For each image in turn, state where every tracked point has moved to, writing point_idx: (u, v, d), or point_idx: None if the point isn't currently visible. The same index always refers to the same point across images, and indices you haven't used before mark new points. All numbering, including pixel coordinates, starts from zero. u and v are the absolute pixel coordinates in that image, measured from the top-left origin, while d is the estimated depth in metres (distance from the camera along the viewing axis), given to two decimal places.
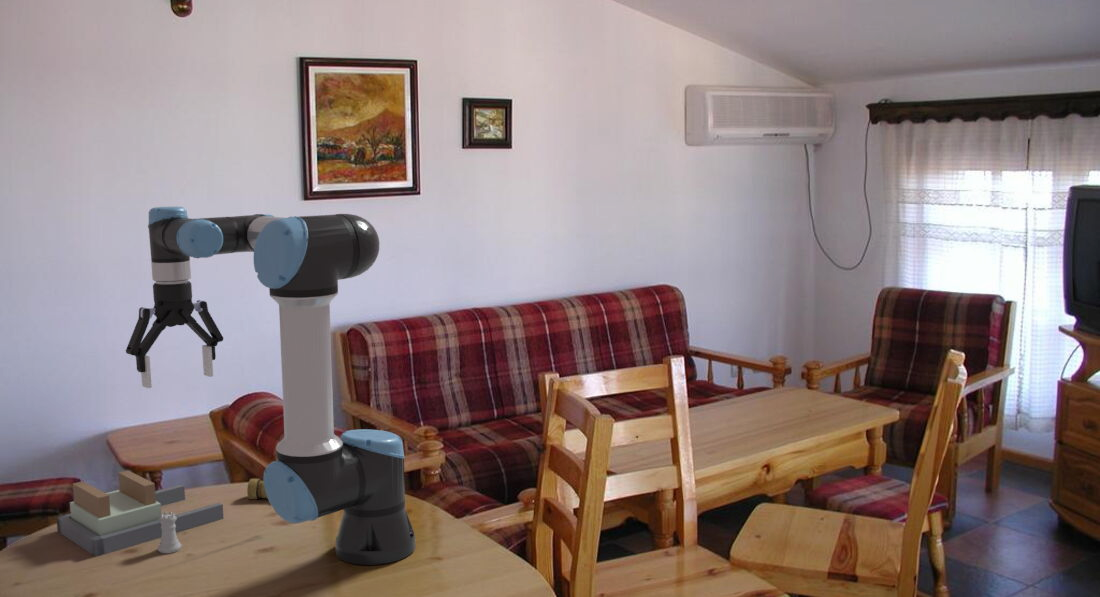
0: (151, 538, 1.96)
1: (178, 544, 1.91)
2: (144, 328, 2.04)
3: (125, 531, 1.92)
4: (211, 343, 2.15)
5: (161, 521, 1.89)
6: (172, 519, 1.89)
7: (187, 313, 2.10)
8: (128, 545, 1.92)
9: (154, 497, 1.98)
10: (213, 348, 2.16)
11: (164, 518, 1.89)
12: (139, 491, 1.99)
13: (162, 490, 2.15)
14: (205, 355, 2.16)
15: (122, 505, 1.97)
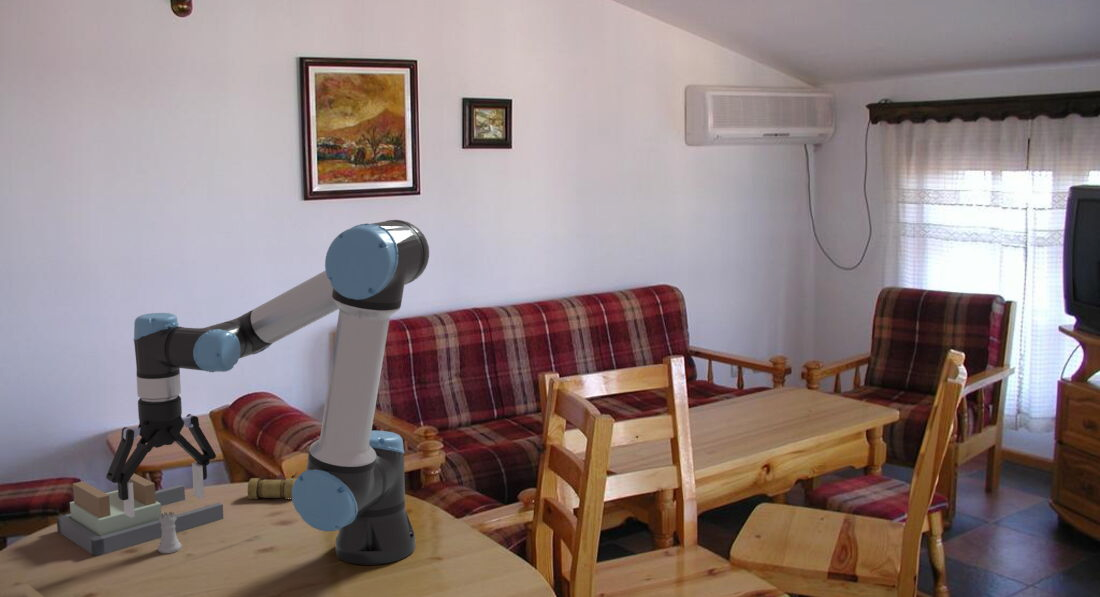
0: (151, 538, 1.96)
1: (178, 544, 1.91)
2: (127, 452, 1.82)
3: (125, 531, 1.92)
4: (202, 462, 1.93)
5: (161, 521, 1.89)
6: (172, 519, 1.89)
7: (176, 432, 1.88)
8: (128, 545, 1.92)
9: (154, 497, 1.98)
10: (204, 467, 1.94)
11: (164, 518, 1.89)
12: (139, 491, 1.99)
13: (162, 490, 2.15)
14: (195, 474, 1.94)
15: (122, 505, 1.97)
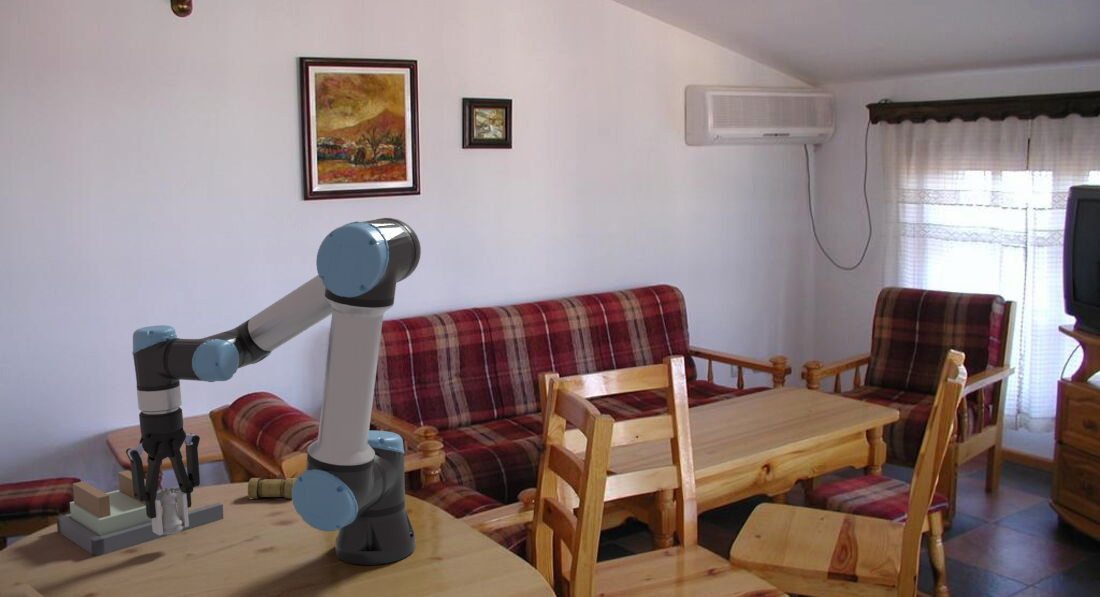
0: (151, 538, 1.96)
1: (179, 520, 1.90)
2: (141, 470, 1.84)
3: (125, 531, 1.92)
4: (186, 488, 1.91)
5: (161, 497, 1.88)
6: (172, 494, 1.88)
7: (177, 445, 1.88)
8: (128, 545, 1.92)
9: None
10: (188, 494, 1.92)
11: (164, 494, 1.88)
12: None
13: None
14: (179, 503, 1.91)
15: (122, 505, 1.97)
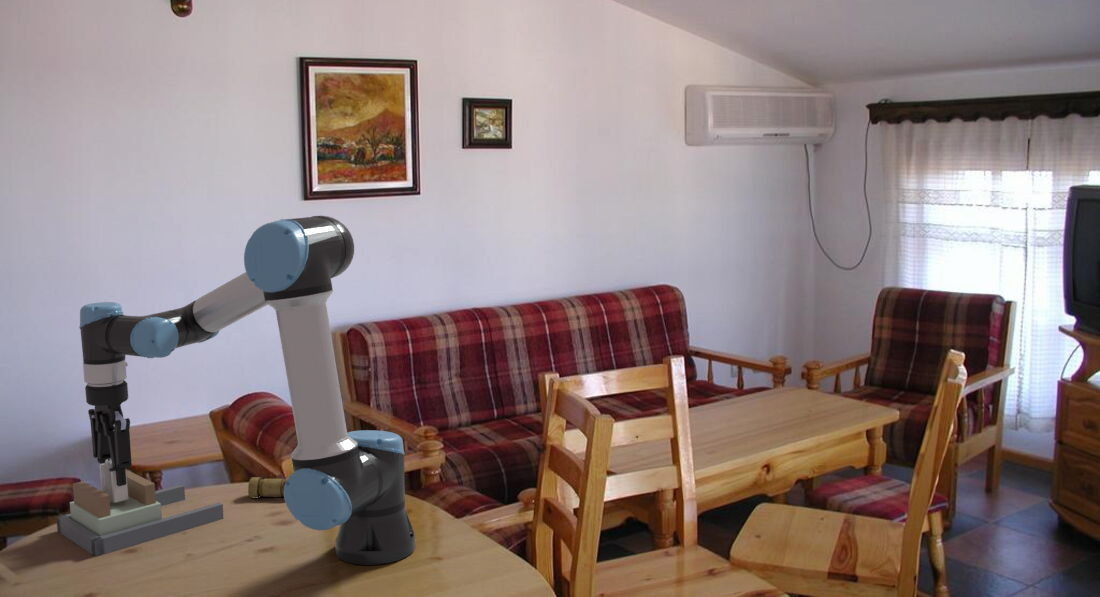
0: (151, 538, 1.96)
1: (109, 491, 1.97)
2: (92, 429, 1.99)
3: (125, 531, 1.92)
4: (113, 466, 1.94)
5: None
6: (105, 464, 1.96)
7: (102, 421, 1.93)
8: (128, 545, 1.92)
9: (154, 497, 1.98)
10: (117, 473, 1.95)
11: None
12: (139, 491, 1.99)
13: (162, 490, 2.15)
14: None
15: (122, 505, 1.97)
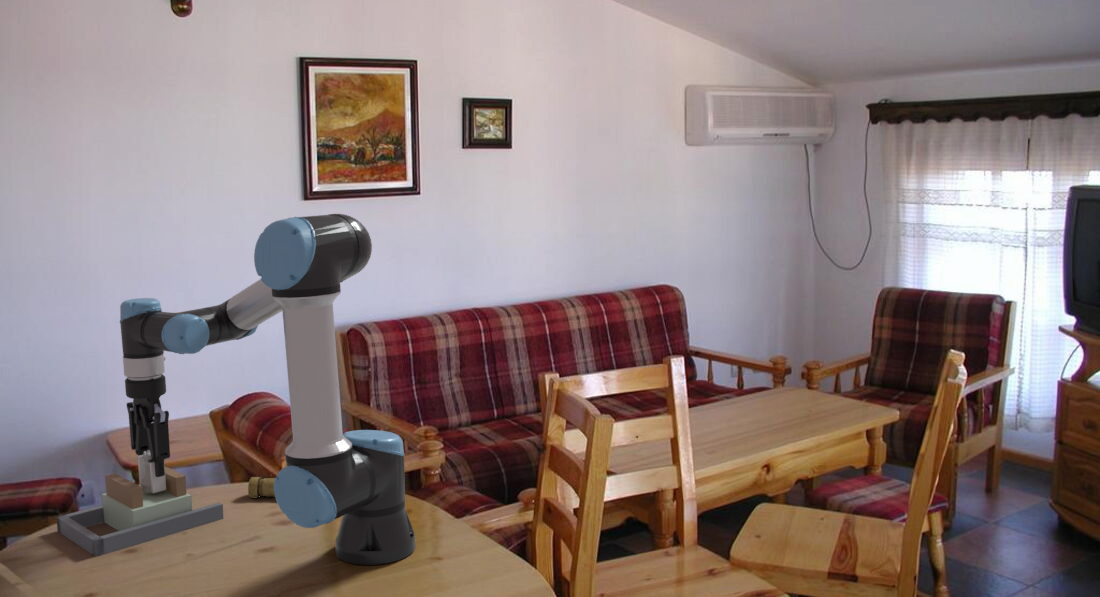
0: (151, 538, 1.96)
1: (148, 482, 2.02)
2: (130, 422, 2.05)
3: (125, 531, 1.92)
4: (152, 457, 2.00)
5: None
6: (144, 456, 2.02)
7: (142, 413, 1.99)
8: (128, 545, 1.92)
9: (185, 489, 2.03)
10: (156, 464, 2.00)
11: None
12: (170, 483, 2.03)
13: None
14: None
15: (154, 497, 2.02)
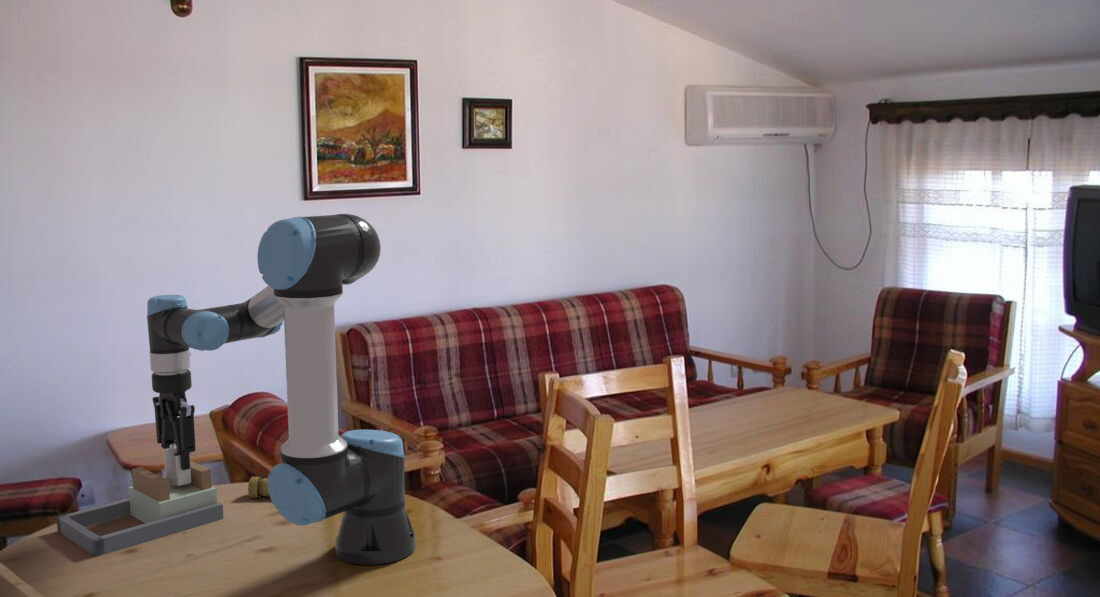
0: (151, 538, 1.96)
1: (173, 475, 2.06)
2: (156, 416, 2.09)
3: (125, 531, 1.92)
4: (177, 451, 2.04)
5: None
6: (170, 449, 2.06)
7: (168, 408, 2.03)
8: (128, 545, 1.92)
9: (210, 482, 2.07)
10: (182, 458, 2.04)
11: None
12: (195, 476, 2.07)
13: None
14: None
15: (180, 490, 2.06)
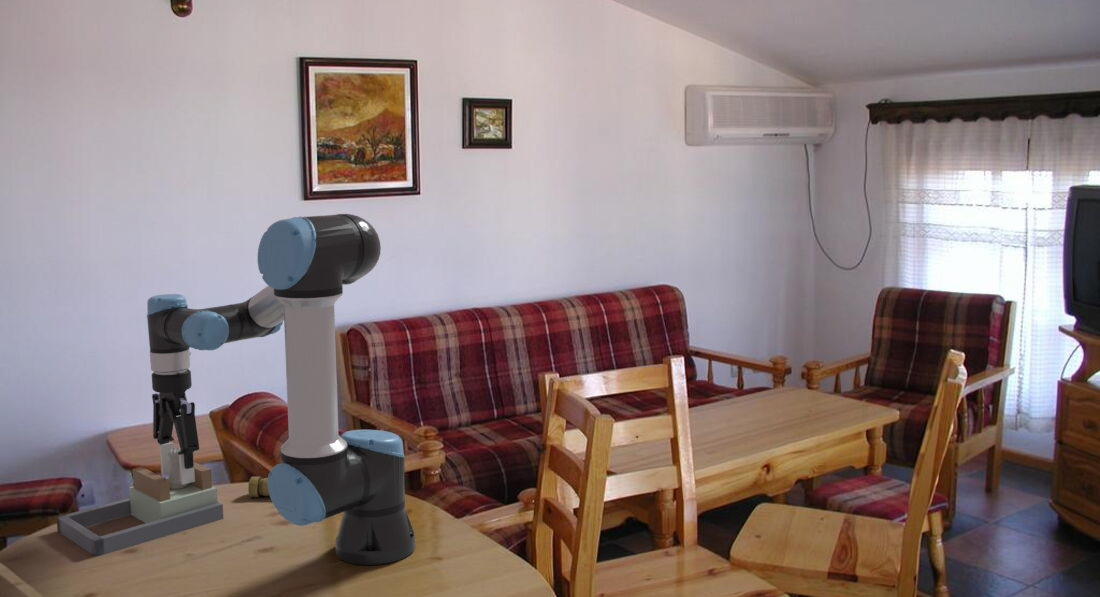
0: (151, 538, 1.96)
1: (173, 479, 2.06)
2: (155, 413, 2.09)
3: (125, 531, 1.92)
4: (181, 450, 2.03)
5: None
6: (169, 454, 2.06)
7: (168, 407, 2.03)
8: (128, 545, 1.92)
9: (210, 482, 2.07)
10: (185, 456, 2.03)
11: None
12: (196, 476, 2.07)
13: None
14: None
15: (180, 490, 2.06)
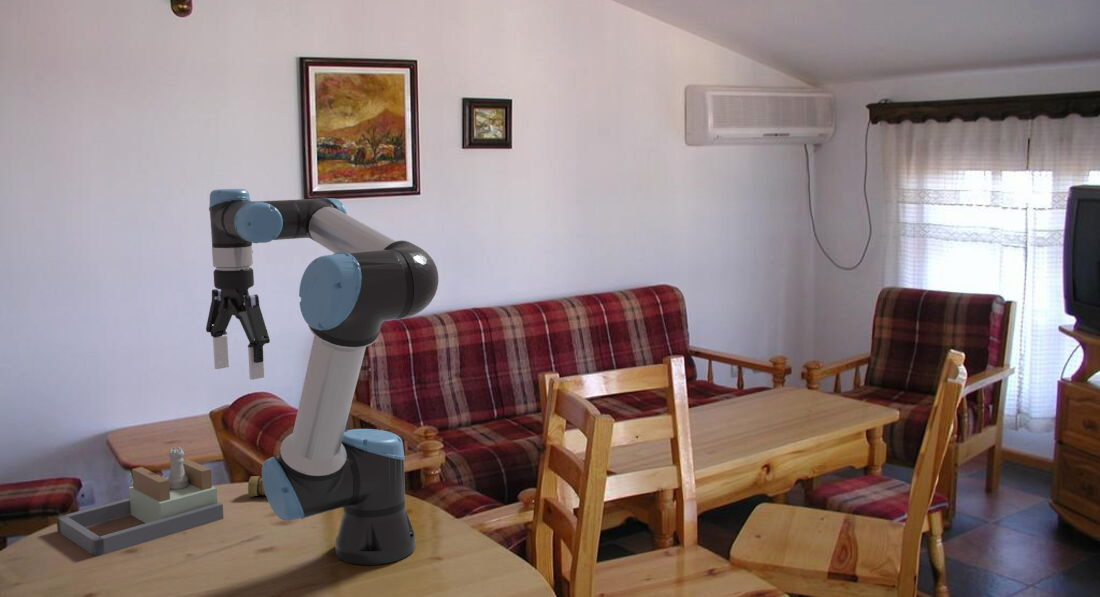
0: (151, 538, 1.96)
1: (173, 479, 2.06)
2: (212, 308, 2.03)
3: (125, 531, 1.92)
4: None
5: None
6: (169, 454, 2.06)
7: (231, 304, 1.96)
8: (128, 545, 1.92)
9: (210, 482, 2.07)
10: (255, 350, 1.94)
11: None
12: (195, 476, 2.07)
13: None
14: None
15: (180, 490, 2.06)
